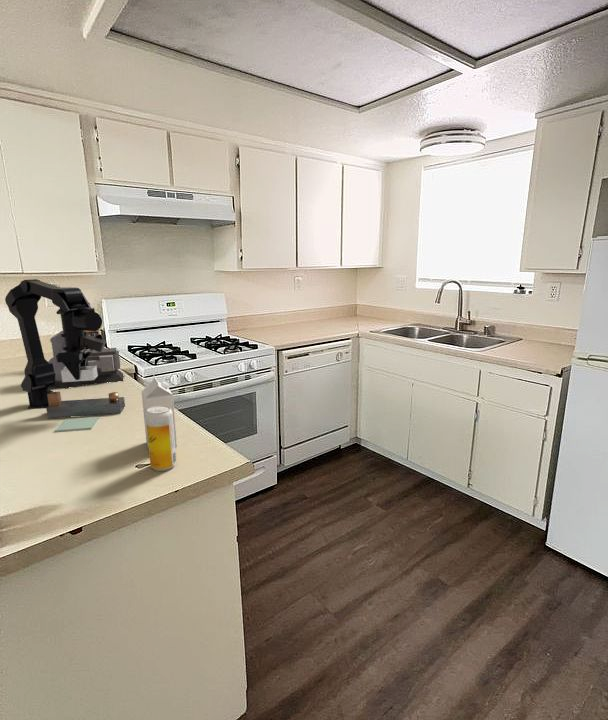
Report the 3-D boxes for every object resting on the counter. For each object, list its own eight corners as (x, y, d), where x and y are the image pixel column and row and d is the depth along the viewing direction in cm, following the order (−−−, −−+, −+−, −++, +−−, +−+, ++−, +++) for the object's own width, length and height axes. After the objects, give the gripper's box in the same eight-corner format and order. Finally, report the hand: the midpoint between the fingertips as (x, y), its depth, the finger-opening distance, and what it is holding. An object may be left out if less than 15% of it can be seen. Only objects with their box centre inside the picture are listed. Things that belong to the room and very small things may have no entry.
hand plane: (47, 418, 132) (44, 396, 131) (55, 411, 139) (52, 390, 137) (120, 413, 137) (118, 392, 135) (125, 406, 144) (122, 385, 142)
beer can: (154, 460, 105) (149, 405, 101) (178, 459, 105) (174, 404, 102) (147, 472, 99) (141, 414, 95) (173, 471, 99) (168, 413, 96)
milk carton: (149, 452, 109) (143, 384, 105) (146, 442, 116) (139, 377, 111) (177, 446, 113) (171, 380, 108) (172, 437, 119) (167, 373, 114)
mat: (54, 432, 122) (54, 430, 122) (65, 420, 131) (64, 419, 131) (91, 429, 124) (91, 427, 124) (99, 418, 133) (98, 416, 133)
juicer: (40, 391, 160) (30, 329, 155) (47, 380, 175) (39, 323, 169) (123, 382, 172) (117, 324, 166) (124, 373, 186) (118, 319, 180)
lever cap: (62, 382, 128) (60, 368, 127) (67, 377, 133) (65, 365, 132) (93, 380, 130) (92, 366, 129) (97, 375, 135) (96, 363, 134)
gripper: (93, 332, 120) (100, 383, 124) (108, 323, 138) (113, 368, 142) (51, 334, 118) (59, 386, 122) (71, 325, 136) (78, 370, 139)
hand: (80, 377), depth 131 cm, fingers closed on lever cap, 5 cm apart
